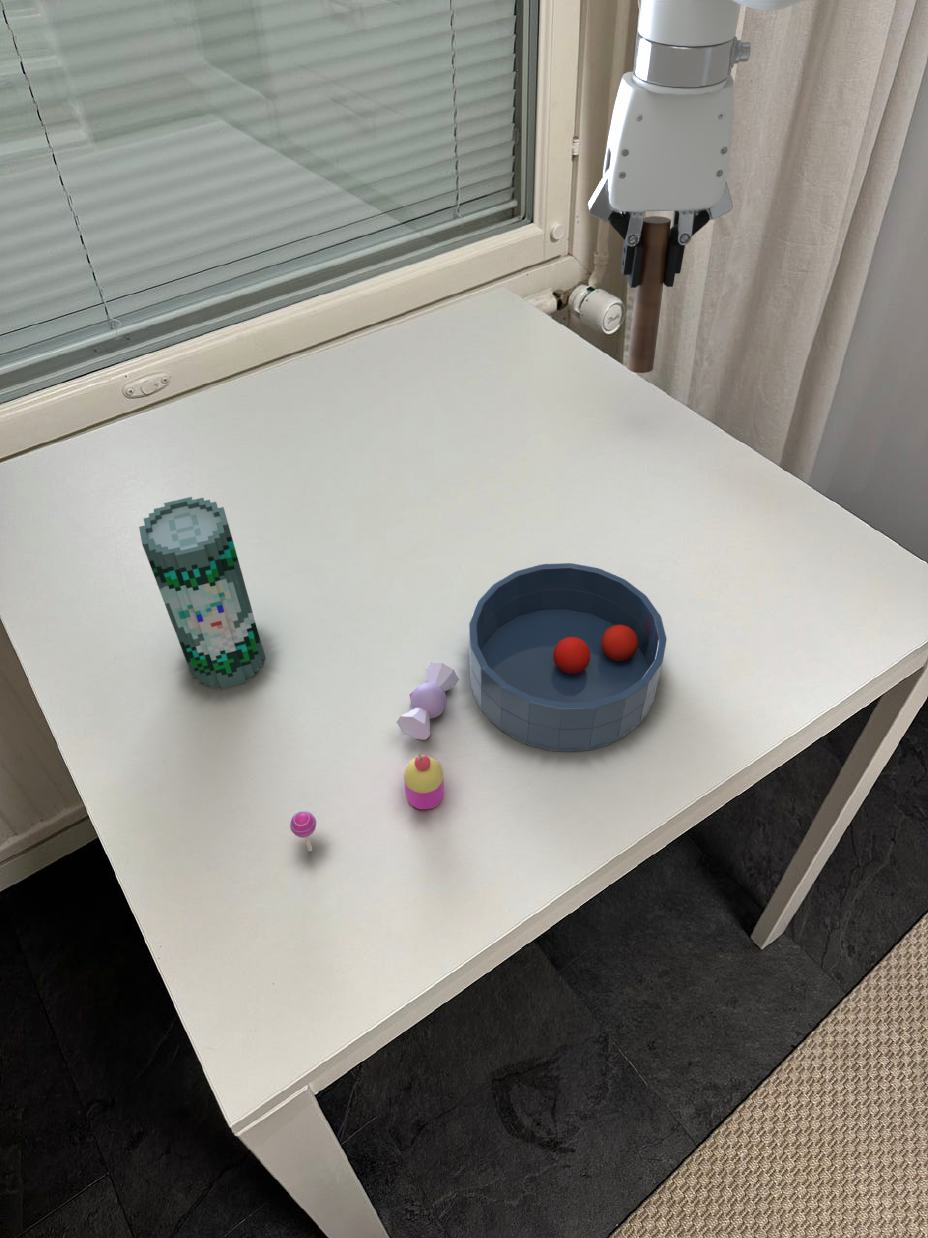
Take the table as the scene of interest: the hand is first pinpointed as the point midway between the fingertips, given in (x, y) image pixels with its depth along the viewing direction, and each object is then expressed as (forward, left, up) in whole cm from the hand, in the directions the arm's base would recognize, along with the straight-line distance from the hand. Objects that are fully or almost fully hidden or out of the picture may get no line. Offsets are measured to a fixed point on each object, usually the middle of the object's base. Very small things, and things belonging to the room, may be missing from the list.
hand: (649, 278), depth 84 cm
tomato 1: (+10, +34, -15) cm, 38 cm away
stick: (0, +2, -8) cm, 9 cm away
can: (+39, +31, -17) cm, 53 cm away
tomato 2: (+6, +33, -15) cm, 36 cm away
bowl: (+11, +34, -17) cm, 40 cm away
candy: (+24, +43, -17) cm, 52 cm away
